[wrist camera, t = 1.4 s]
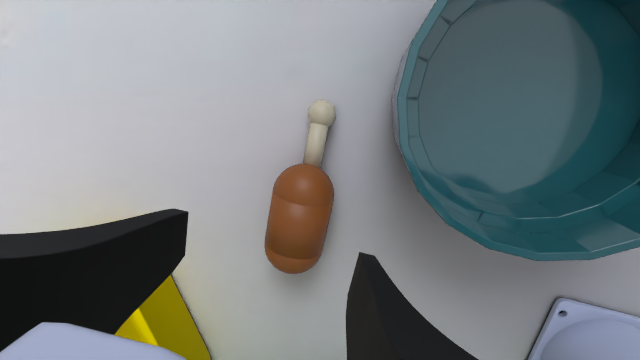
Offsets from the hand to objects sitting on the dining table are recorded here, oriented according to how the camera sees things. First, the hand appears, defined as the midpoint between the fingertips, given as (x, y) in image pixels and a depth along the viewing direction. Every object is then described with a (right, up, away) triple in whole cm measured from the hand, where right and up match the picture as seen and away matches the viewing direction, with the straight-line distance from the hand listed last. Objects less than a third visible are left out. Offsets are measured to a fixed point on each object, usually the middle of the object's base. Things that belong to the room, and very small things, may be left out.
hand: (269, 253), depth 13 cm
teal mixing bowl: (+14, +8, +6) cm, 17 cm away
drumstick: (+1, +3, +10) cm, 10 cm away
